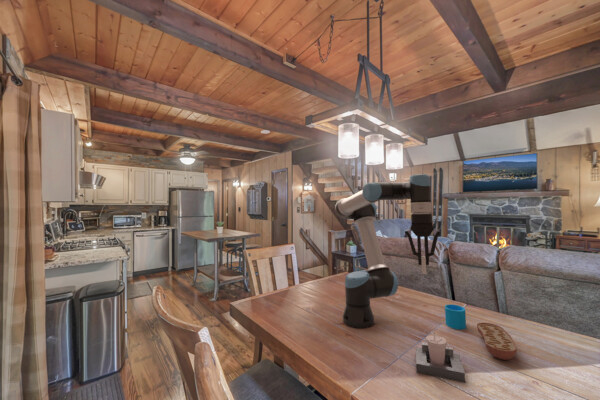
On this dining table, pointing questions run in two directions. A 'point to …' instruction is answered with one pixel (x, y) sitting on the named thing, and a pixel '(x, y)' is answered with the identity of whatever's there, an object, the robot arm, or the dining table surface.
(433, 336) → the smoothie
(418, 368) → the jig
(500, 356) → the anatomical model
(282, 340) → the dining table surface
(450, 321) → the mug
